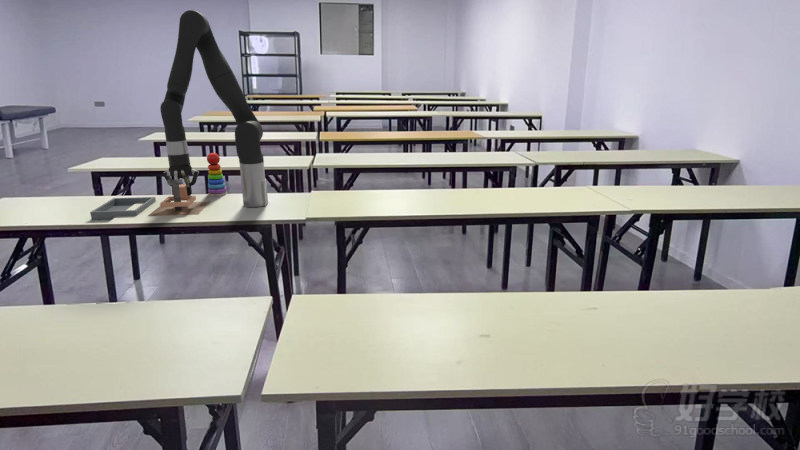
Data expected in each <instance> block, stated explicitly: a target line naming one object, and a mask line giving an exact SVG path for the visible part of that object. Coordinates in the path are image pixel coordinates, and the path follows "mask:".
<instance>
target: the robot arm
mask: <svg viewBox="0 0 800 450" xmlns="http://www.w3.org/2000/svg"><path fill="white" fill-rule="evenodd" d="M178 24H179V25H178V37H177V43H176V48H175V53H174V57H173V61H172V65H171V68H170V72H169V77H168V80H167V83H166V84H167V85H166V89H167V90H166V92H165V97H164V99H163V101H162V103H160V116H161V119H162V122H163V123H162V124H163V126H164V136H165V142H166V144H165V146H166V153H167V159H168V166H169V167H168V170H165V171H163V172H161V173H162V176H163V178H164V180H165V181H166V182H167V180H177V179H182V180H183V181H184V183H185V184H186V186H187V187H186V188H187V195H188V196H192V194H193V189H192V186H194V185H195V184H196V183H197V180H198V178H199V174H200V170H199V169H194V168H193V167H192V166H191V160H190V152H189V146H188V142H187V138H186V130H185V127H184V125H183V117H182V113H183V108H184V104H185V101H186V94H187V92H188V89H189V85H190V82H191V79H192V73H193V65H194V59H195V58H194V56H195V53H196V50H197V51H198V53H199V55H200V57H201V61H202V64H203V67H204V71H205V74H206V76H207V79H208V81H209V83H210V84H211V87H212V89H213V90H214V92H215V94H216V95H217V97H218V98H219V99H220V100H221V102H222V103H223V104H224V105H225V106H226V107H227V108H228V110H229V112H231V114H232V116H233V118H234V121H235V123H236V124H237V125H236V126H235V129H234V141H235V149H236V154H237V157H238V162H239V171H240V183H241V193H242V202H243V203H242V204H243V206H244V207H247V208H258V207H266V206H267V205H268V203H269V197H268V196H269V195H268V186H267V179H266V174H265V161H264V159H265V158H264V155H263V153H262V149H261V140H262V138H263V135H264V130H263V126H262V125H261V123H260V121H259V120H258V119H257V117H256V115H255V114H254V112H253V111H252V109H251V107H250V105H249V103H248V101H247V99H246V96H245V94H244V92H243V91H242V88H241V86H240V84H239V82H238V79H237V78H236V75H235V73H234V71H233V69H232V68H231V66H230V64H229V62H228V61H227V58H226V57H225V56H224V54H223V53H222V50H221V49H220V47H219V46H218V43H217V41H216V39H215V36H214V33H213V31H212V28H211V25H210V23H209V21H208V18H207V17H206V16H205V15H203V14H202V13H201V12H199V11H197V10H195V9H194V10H193V9H190V10H189V9H188V10H186V11H184V12H183V13H182V14H181V15H180V18H179V23H178ZM171 175H172V177H174V178H173V179H172V177H171ZM190 175H192V179H191V178H190ZM169 186H170V187H172V185H169Z"/></svg>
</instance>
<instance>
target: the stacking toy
mask: <svg viewBox="0 0 800 450" xmlns="http://www.w3.org/2000/svg"><path fill="white" fill-rule="evenodd" d="M220 160H221V157H220V156H219V154H218V153H216V152H210V153H209V154H208V155H207V156H206V162H207V163H208V165H207V169H208V171H207V173H208V174H207V179H208V180H207V182H208V183H207V187H208V189H207V192H208V193H207V195H208V196H209V197H221V196H225V195H228V192H227V190H228V188H227V186H226V183H225V178H224V175H223V170H222V168H221V164H220Z"/></svg>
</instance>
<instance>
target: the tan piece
mask: <svg viewBox="0 0 800 450" xmlns="http://www.w3.org/2000/svg"><path fill="white" fill-rule="evenodd" d="M186 187H187V186H186V183H185V184H182V185H179V190H180V197H181V202H174V197H173V195H172V196H168V197H167V196H166V198H165V199H164V200H162V201H161V202H160V203H159V206H161V207H181V206H189V205H190V204H192V203H193V202H196V195H191V196H188V195H187V188H186Z"/></svg>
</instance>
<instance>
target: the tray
mask: <svg viewBox="0 0 800 450" xmlns="http://www.w3.org/2000/svg"><path fill="white" fill-rule="evenodd" d="M155 202H157V200H156V196H145V197H144V196H143V197H141V196H140V197H138V196H137V197H113V198H111V199H110V200H108V201H106V202H104V203H102V204H101V205H100V206H98V207H96V208H95V209H93V210H91V211H90V212H89V213H90V217H91V218H90V219H91V221H102V220H105V221H106V220H114V219H116V218H117V217H133V216H134V217H135V216H138V215H140V214H141V213H142V212H144V211H145V210H146V209H148V208H149V207H151V206H152V205H153V204H155ZM137 203H138V204H139V203H142V204H140V206H138V207H136V208H135V209H130V210H128V209H129V208H131V207H132V206H134V205H135V204H137Z"/></svg>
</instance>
